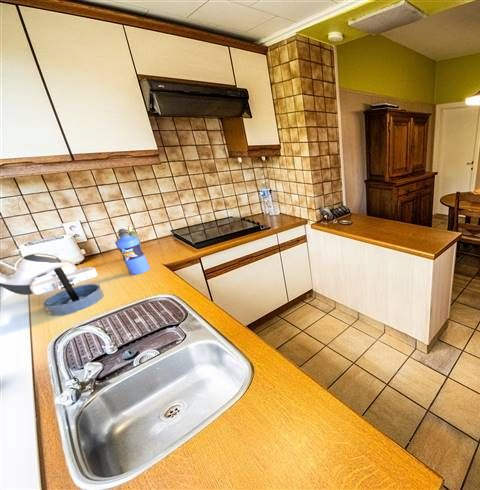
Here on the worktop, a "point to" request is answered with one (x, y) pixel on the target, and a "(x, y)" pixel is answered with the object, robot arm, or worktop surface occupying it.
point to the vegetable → (133, 234)
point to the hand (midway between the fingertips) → (66, 285)
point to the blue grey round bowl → (60, 306)
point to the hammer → (67, 285)
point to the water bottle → (132, 253)
